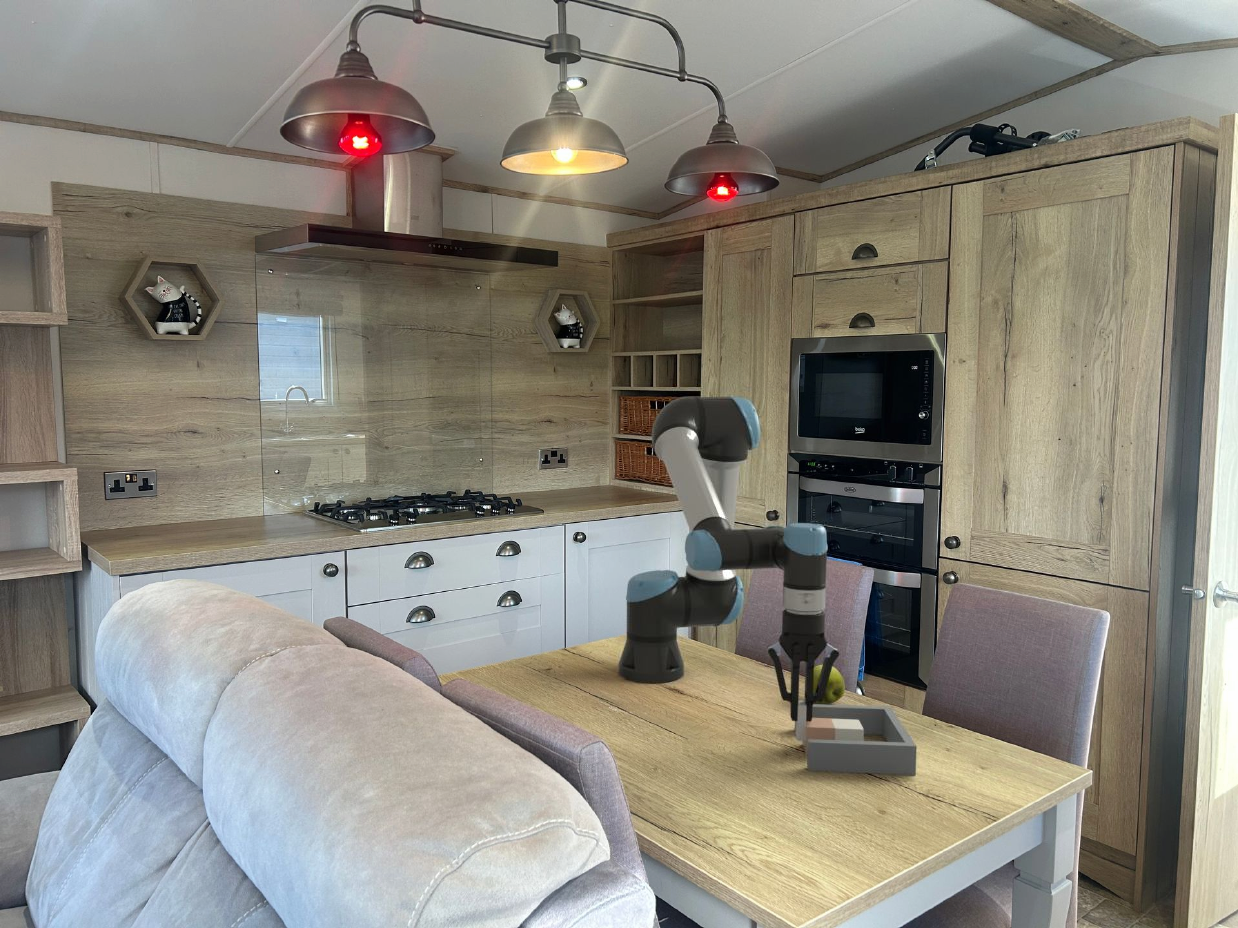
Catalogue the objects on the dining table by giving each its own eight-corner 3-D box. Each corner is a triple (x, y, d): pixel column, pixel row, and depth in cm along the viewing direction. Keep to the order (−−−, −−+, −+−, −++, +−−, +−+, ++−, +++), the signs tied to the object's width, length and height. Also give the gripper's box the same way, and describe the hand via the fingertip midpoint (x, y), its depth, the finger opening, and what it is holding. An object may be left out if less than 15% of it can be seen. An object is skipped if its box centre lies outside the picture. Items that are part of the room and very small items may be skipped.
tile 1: (802, 743, 168) (803, 717, 167) (830, 744, 167) (830, 718, 167) (806, 754, 163) (806, 726, 162) (834, 755, 162) (835, 728, 162)
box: (794, 728, 175) (795, 703, 175) (889, 732, 174) (890, 706, 174) (808, 770, 155) (808, 742, 155) (915, 774, 154) (916, 746, 154)
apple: (828, 694, 196) (829, 658, 196) (852, 708, 188) (853, 670, 187) (796, 698, 194) (797, 661, 193) (819, 711, 185) (820, 673, 184)
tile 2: (830, 745, 167) (831, 718, 167) (857, 746, 167) (858, 719, 166) (834, 755, 162) (835, 728, 162) (863, 756, 162) (863, 729, 161)
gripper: (768, 613, 160) (766, 744, 162) (843, 615, 159) (840, 747, 161) (765, 604, 168) (762, 729, 169) (837, 606, 167) (833, 732, 168)
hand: (800, 737), depth 165 cm, fingers closed
